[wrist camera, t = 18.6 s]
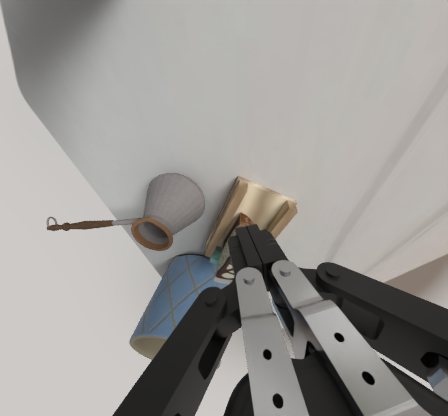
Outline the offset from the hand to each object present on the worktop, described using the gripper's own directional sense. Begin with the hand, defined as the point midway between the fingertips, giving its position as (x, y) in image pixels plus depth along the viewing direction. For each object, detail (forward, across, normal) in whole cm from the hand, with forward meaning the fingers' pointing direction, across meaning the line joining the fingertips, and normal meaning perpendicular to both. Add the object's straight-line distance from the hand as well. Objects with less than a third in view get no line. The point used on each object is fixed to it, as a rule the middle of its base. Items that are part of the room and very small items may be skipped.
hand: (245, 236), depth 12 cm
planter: (+28, +10, +32) cm, 44 cm away
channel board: (+22, -4, +15) cm, 27 cm away
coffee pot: (+26, +13, +4) cm, 30 cm away
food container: (+21, -4, +16) cm, 27 cm away
